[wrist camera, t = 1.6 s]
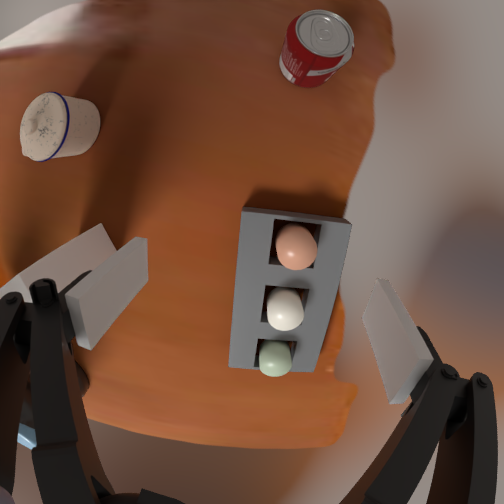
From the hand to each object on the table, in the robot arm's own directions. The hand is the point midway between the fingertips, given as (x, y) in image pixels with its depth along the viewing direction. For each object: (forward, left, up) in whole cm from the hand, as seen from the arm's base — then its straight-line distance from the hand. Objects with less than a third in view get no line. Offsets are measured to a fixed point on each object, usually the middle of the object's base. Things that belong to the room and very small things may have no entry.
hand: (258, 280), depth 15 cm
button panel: (-13, -5, -23) cm, 27 cm away
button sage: (-22, -5, -21) cm, 31 cm away
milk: (-9, +24, -23) cm, 34 cm away
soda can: (+19, -4, -23) cm, 30 cm away
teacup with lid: (+9, +29, -23) cm, 38 cm away
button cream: (-13, -5, -21) cm, 26 cm away
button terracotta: (-4, -5, -21) cm, 22 cm away
